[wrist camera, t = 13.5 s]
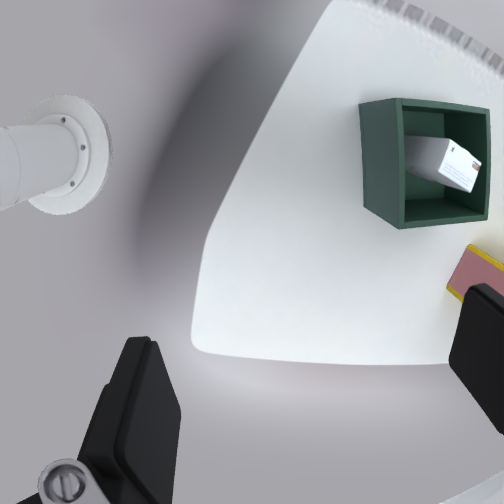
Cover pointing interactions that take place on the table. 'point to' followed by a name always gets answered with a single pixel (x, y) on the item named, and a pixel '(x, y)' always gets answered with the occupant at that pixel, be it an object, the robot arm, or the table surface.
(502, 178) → the table surface
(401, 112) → the bin
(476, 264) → the alarm clock
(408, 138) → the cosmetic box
